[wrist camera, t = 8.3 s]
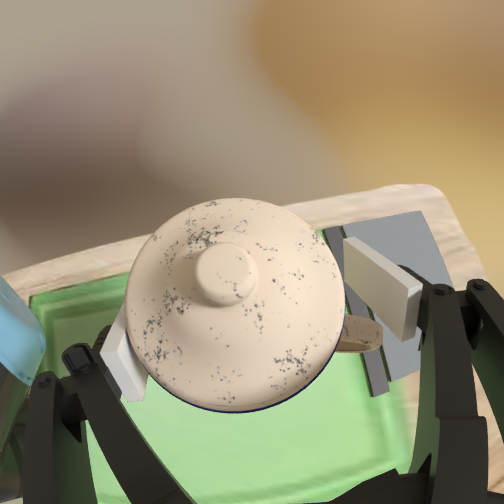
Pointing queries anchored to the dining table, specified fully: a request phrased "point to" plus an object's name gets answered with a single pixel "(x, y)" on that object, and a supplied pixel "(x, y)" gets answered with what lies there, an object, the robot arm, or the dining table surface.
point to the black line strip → (358, 309)
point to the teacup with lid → (239, 306)
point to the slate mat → (412, 256)
